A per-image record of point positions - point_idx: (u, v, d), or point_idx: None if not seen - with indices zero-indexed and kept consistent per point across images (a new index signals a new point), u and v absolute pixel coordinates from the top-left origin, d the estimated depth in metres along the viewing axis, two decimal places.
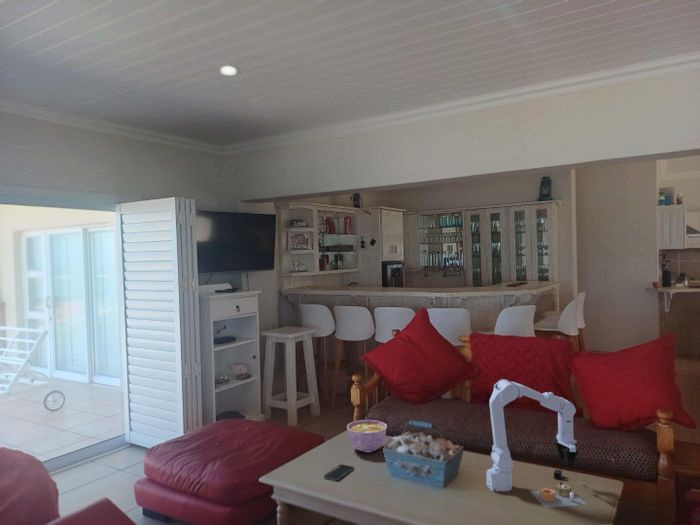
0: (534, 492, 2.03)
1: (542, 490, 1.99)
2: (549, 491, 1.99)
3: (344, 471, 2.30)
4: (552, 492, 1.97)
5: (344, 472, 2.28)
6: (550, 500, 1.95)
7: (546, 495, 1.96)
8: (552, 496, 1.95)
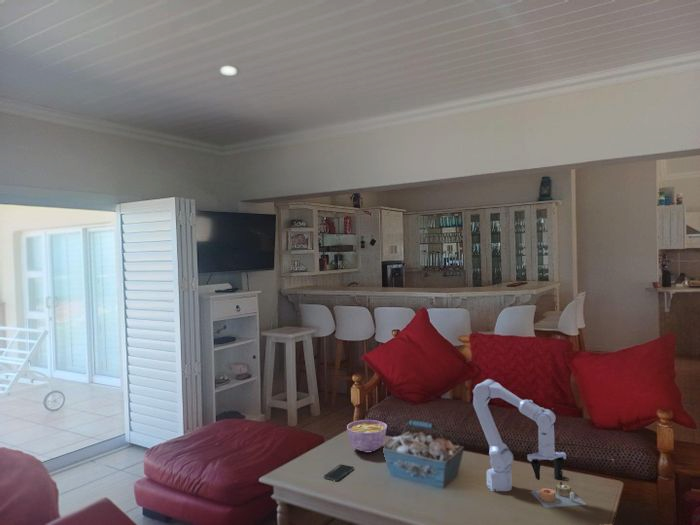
0: (534, 492, 2.03)
1: (542, 490, 1.99)
2: (549, 491, 1.99)
3: (344, 471, 2.30)
4: (552, 492, 1.97)
5: (344, 472, 2.28)
6: (550, 500, 1.95)
7: (546, 495, 1.96)
8: (552, 496, 1.95)
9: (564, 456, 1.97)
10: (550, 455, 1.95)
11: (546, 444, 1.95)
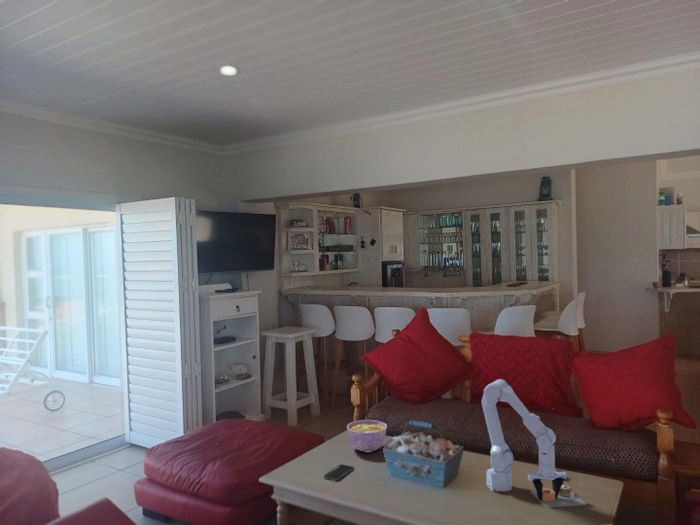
0: (534, 492, 2.03)
1: (542, 490, 1.99)
2: (549, 491, 1.99)
3: (344, 471, 2.30)
4: (552, 492, 1.97)
5: (344, 472, 2.28)
6: (550, 500, 1.95)
7: (546, 495, 1.96)
8: (552, 496, 1.95)
9: (564, 476, 1.97)
10: (550, 475, 1.95)
11: (546, 464, 1.95)
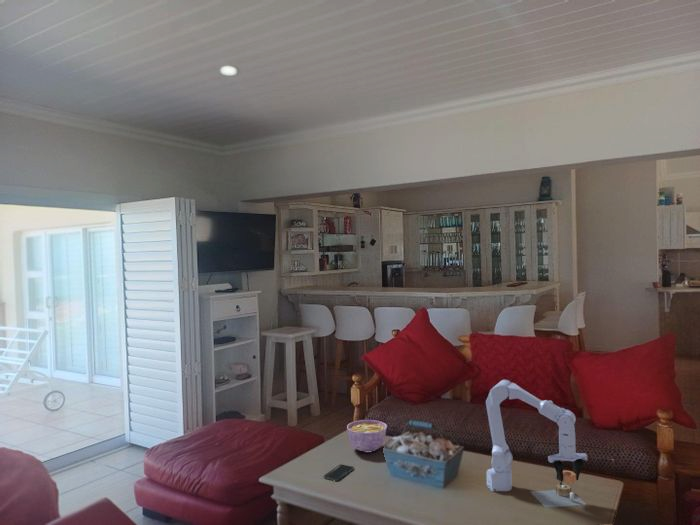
0: (534, 492, 2.03)
1: None
2: (570, 473, 1.96)
3: (344, 471, 2.30)
4: (573, 474, 1.94)
5: (344, 472, 2.28)
6: (571, 482, 1.93)
7: (567, 477, 1.93)
8: (573, 478, 1.93)
9: (585, 457, 1.95)
10: (571, 456, 1.93)
11: (568, 445, 1.93)
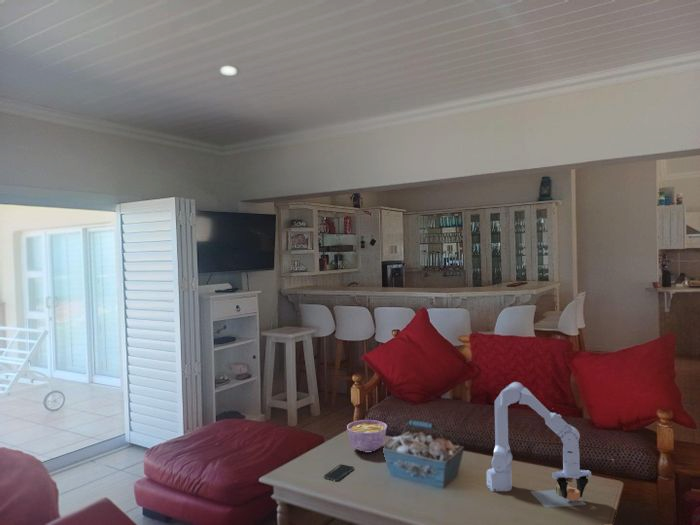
0: (534, 492, 2.03)
1: None
2: (573, 490, 1.96)
3: (344, 471, 2.30)
4: (577, 491, 1.94)
5: (344, 472, 2.28)
6: (575, 499, 1.93)
7: (571, 494, 1.93)
8: (577, 495, 1.93)
9: (589, 474, 1.95)
10: (575, 473, 1.92)
11: (572, 462, 1.92)
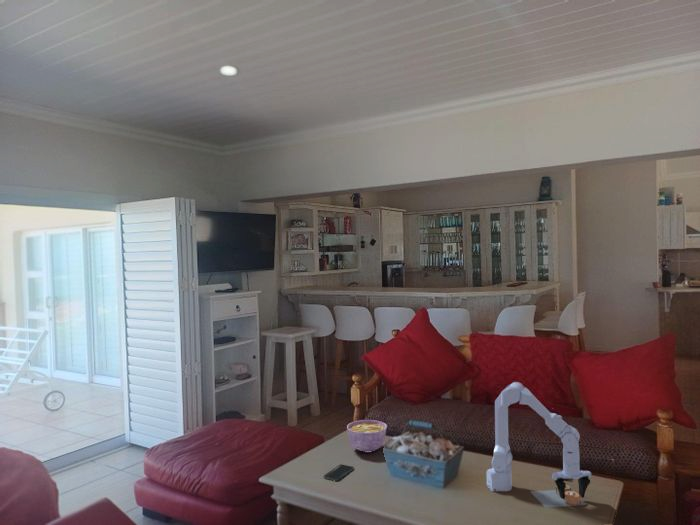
0: (534, 492, 2.03)
1: (566, 492, 1.96)
2: (574, 494, 1.96)
3: (344, 471, 2.30)
4: (577, 495, 1.94)
5: (344, 472, 2.28)
6: (575, 503, 1.93)
7: (571, 498, 1.93)
8: (577, 499, 1.93)
9: (589, 475, 1.95)
10: (575, 474, 1.92)
11: (572, 463, 1.92)
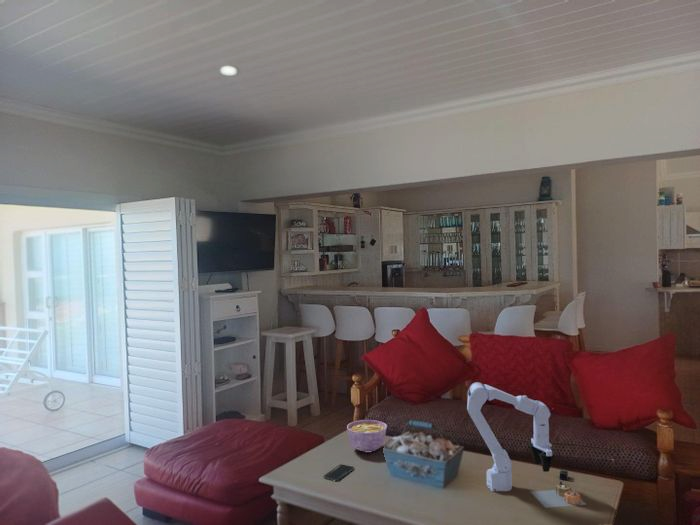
0: (534, 492, 2.03)
1: (566, 492, 1.96)
2: (574, 494, 1.96)
3: (344, 471, 2.30)
4: (577, 495, 1.94)
5: (344, 472, 2.28)
6: (575, 503, 1.93)
7: (571, 498, 1.93)
8: (577, 499, 1.93)
9: None
10: None
11: (545, 435, 2.04)
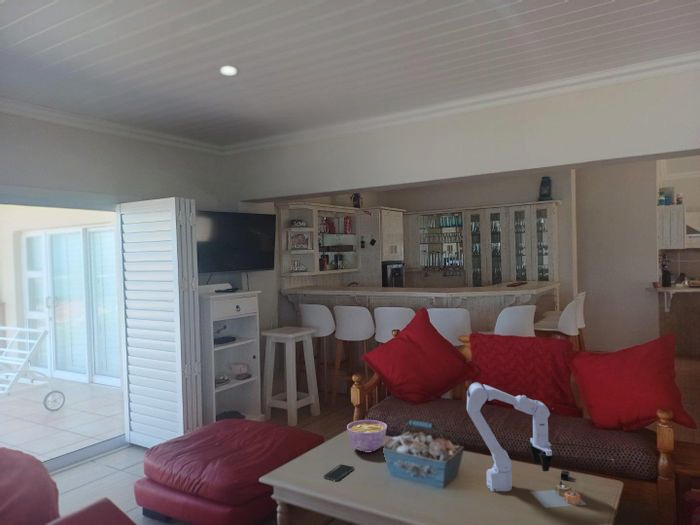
0: (534, 492, 2.03)
1: (566, 492, 1.96)
2: (574, 494, 1.96)
3: (344, 471, 2.30)
4: (577, 495, 1.94)
5: (344, 472, 2.28)
6: (575, 503, 1.93)
7: (571, 498, 1.93)
8: (577, 499, 1.93)
9: None
10: None
11: (544, 434, 2.04)
